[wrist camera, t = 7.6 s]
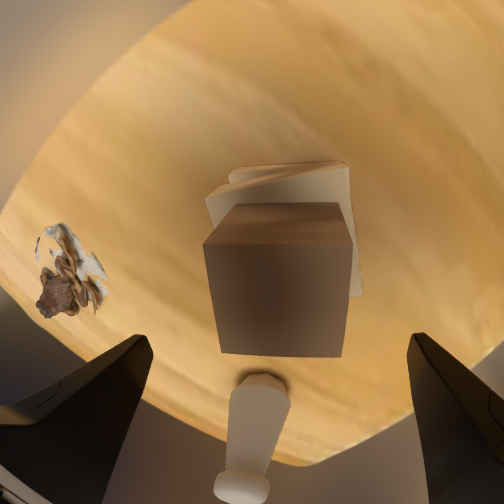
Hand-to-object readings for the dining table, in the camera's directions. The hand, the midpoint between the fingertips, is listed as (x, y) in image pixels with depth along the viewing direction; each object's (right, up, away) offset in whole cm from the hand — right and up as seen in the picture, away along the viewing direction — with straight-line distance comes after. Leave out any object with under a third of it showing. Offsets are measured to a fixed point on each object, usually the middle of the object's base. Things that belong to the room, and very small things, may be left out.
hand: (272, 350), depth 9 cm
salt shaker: (+1, -10, +19) cm, 22 cm away
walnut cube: (+1, +3, +6) cm, 7 cm away
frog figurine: (-20, 0, +19) cm, 27 cm away
